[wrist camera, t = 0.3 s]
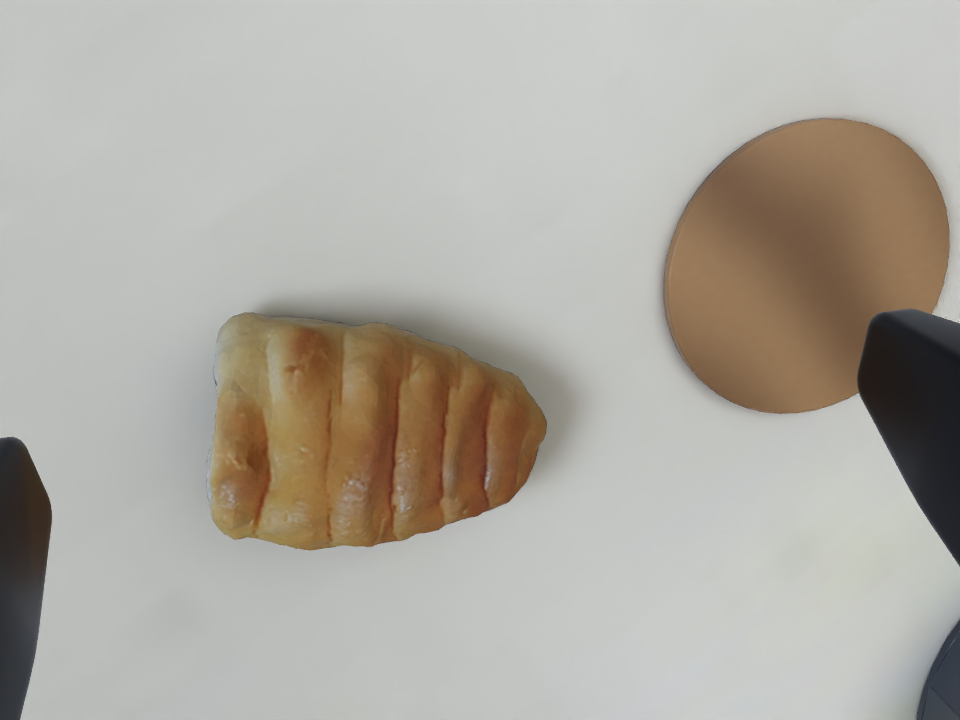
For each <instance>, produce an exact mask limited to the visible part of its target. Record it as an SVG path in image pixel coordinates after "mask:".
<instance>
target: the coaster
mask: <svg viewBox="0 0 960 720" xmlns="http://www.w3.org/2000/svg"><path fill="white" fill-rule="evenodd" d="M949 247H950V246H949V224H948V217H947V211H946V207H945V204H944V200H943V197H942V194H941V191H940V189H939V187H938V185H937V182H936V180H935V178H934V176H933V175H932V173H931V172H930V170H929V169H928V167H927V166H926V164H925V163H924V161H923V160H922V159H921V158H920V157H919V156H918V155H917V154H916V153H915V151H914V150H913V149H912V148H910V147H909V146H908V145H907V144H905V143H904V142H903V141H902V140H900V139H899V138H898V137H896V136H894V135H892V134H890V133H889V132H887V131H885V130H883V129H881V128H878V127H875V126H872V125H869V124H867V123H863V122H857V121H852V120H846V119H832V118H820V119H811V120H802V121H799V122H795V123H791V124H787V125H783V126H781V127H778V128H776V129H773V130H771V131H768V132H766V133H764V134H762V135H760V136H758V137H757V138H755V139H753V140H751V141H749V142H748V143H746V144H745V145H743V146H742V147H740V148H739V149H738V150H736V151H735V152H734V153H732V154H731V155H730V156H728V157H727V158H726V159H725V160H724V161H723V162H722V163H721V164H720V165H719V166H718V167H717V168H716V169H714V170H713V172H712V173H711V174H710V175H709V176H708V177H707V179H706V180H705V181H704V182H703V183H702V185H701V186H700V187H699V188H698V190H697V191H696V193H695V194H694V196H693V197H692V199H691V200H690V202H689V203H688V205H687V207H686V209H685V211H684V213H683V215H682V217H681V219H680V221H679V223H678V225H677V228H676V230H675V233H674V236H673V238H672V241H671V244H670V248H669V253H668V257H667V261H666V268H665V277H664V303H665V310H666V316H667V321H668V325H669V328H670V332H671V335H672V338H673V340H674V342H675V344H676V346H677V349H678V351H679V353H680V354H681V356H682V357H683V359H684V361H685V362H686V364H687V365H688V367H689V368H690V369H691V370H692V371H693V372H694V373H695V375H696V376H697V377H698V378H699V379H700V380H701V381H702V382H703V383H705V384H706V385H707V386H708V387H710V388H711V389H712V390H713V391H714V392H716V393H717V394H719V395H720V396H722V397H724V398H725V399H727V400H729V401H730V402H733V403H735V404H738V405H740V406H743V407H745V408H749V409H753V410H757V411H761V412H769V413H778V414H782V413H800V412H806V411H813V410H817V409H820V408H824V407H827V406H831V405H833V404H836V403H838V402H841V401H843V400H845V399H848V398H850V397H851V396H853V395H855V394H857V393H859V390H858V386H857V372H858V368H859V364H860V359H861V355H862V351H863V346H864V342H865V338H866V333H867V329H868V326H869V323H870V321H871V319H872V318H873V317H874V316H875V315H877V314H878V313H881V312H887V311H894V310H901V309H917V310H920V311H923V312H926V313H929V314H932V312H933V310H934V308H935V306H936V304H937V301H938V299H939V296H940V293H941V290H942V287H943V284H944V279H945V275H946V270H947V266H948V257H949Z"/></svg>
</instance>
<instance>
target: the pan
mask: <svg viewBox="0 0 960 720" xmlns="http://www.w3.org/2000/svg"><path fill="white" fill-rule="evenodd" d="M917 720H960V621H959V622H958V624H957V625H956V627H955V628H954V630H953V631H952V633H951V634H950V636H949V637H948V639H947V640H946V641H945V643H944V645H943V647H942V649H941V651H940V652H939V654H938V656H937V658H936V660H935V662H934V664H933V666H932V668H931V671H930V673H929V676H928V678H927V681H926V683H925V686H924V688H923V692H922V696H921V700H920V704H919V708H918V712H917Z"/></svg>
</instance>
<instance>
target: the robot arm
mask: <svg viewBox="0 0 960 720" xmlns="http://www.w3.org/2000/svg"><path fill="white" fill-rule="evenodd" d="M857 386H858V390H859V394H860V396H861V399H862V400H863V402H864V404H865V406H866V408H867V410H868V412H869V414H870V415H871V417H872V419H873V421H874V423H875V425H876V427H877V429H878V431H879V432H880V434H881V436H882V438H883V440H884V442H885V444H886V446H887V448H888V449H889V451H890V453H891V455H892V457H893V459H894V461H895V463H896V465H897V466H898V468H899V470H900V472H901V474H902V476H903V478H904V480H905V482H906V483H907V485H908V487H909V489H910V491H911V492H912V494H913V496H914V498H915V499H916V501H917V503H918V505H919V506H920V508H921V509H922V511H923V512H924V514H925V516H926V517H927V519H928V520H929V522H930V523H931V525H932V526H933V528H934V529H935V531H936V532H937V534H938V535H939V537H940V538H941V540H942V541H943V543H944V544H945V545H946V547H947V548H948V550H949V551H950V553H951V554H952V556H953V557H954V559H955V560H956V562H957V563H958V565H959V566H960V324H959V323H956V322H953V321H950V320H947V319H944V318H941V317H938V316H935V315H932V314H929V313H926V312H923V311H920V310H917V309H901V310H894V311H887V312H881V313H878V314H877V315H875V316H874V317H873V318H872V319H871V321H870V323H869V326H868V329H867V333H866V338H865V342H864V346H863V351H862V355H861V359H860V364H859V368H858V372H857ZM51 524H52V510H51V504H50V500H49V497H48V494H47V492H46V490H45V488H44V486H43V483H42V481H41V479H40V477H39V474H38V472H37V470H36V468H35V465H34V463H33V461H32V459H31V456H30V454H29V452H28V450H27V448H26V446H25V445H24V444H23V442H22V441H21V440H19V439H17V438H15V437H6V438H0V720H20V717H21V713H22V709H23V705H24V701H25V697H26V693H27V689H28V685H29V681H30V676H31V672H32V667H33V663H34V658H35V653H36V646H37V639H38V633H39V624H40V616H41V608H42V599H43V591H44V582H45V574H46V566H47V557H48V549H49V540H50V532H51Z"/></svg>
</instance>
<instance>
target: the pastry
mask: <svg viewBox="0 0 960 720" xmlns="http://www.w3.org/2000/svg"><path fill="white" fill-rule="evenodd" d="M213 375H214V379H215V383H216V386H217V408H216V415H215V419H216V420H215V431H214V435H213V441H212V445H211V448H210V450H209V454H208V458H207V480H206V484H207V496H208V499H209V501H210V506H211V517H212V520H213V521H214V523H215V524H216V525H217V527H218V528H219V529H220V530H221V531H222V532H223V533H224V534H225V535H228V536H229V537H231V538H232V539H242V538H245V537H250V538H258V539H262V540H266V541H270V542H273V543H276V544H279V545H287V546H290V547H293V548H296V549H298V548H299V549H305V550H316V549H322V548H329V547H336V546H341V545H348V546H365V547H372V546H374V545H377V544H381V543H386V542H392V541H402V540H406V539H408V538H410V537H411V536H413V535H415V534H418V533H427V532H431V531H436V530H439V529H440V528H442V527H443V526H444V525H446V524H450V523H454V522H456V521H459V520H461V519H466V518H469V517H475V516H478V515H480V514H481V513H483V512H485V511H488V510H491V509H494V508H496V507H498V506H500V505H503V504H506V503H508V502H509V501H510V500H511V499H512V498H513V497H514V496H515V494H516V493H517V492H518V491H519V490H520V488H521V487H522V486H523V485H524V484H525V483H526V481H527V479H528V477H529V475H530V472H531V470H532V468H533V465H534V463H535V460H536V456H537V452H538V448H539V445H540V444H541V443H542V441H543V439H544V437H545V435H546V428H547V423H546V418H545V416H544V414H543V412H542V410H541V409H540V407H539V406H538V404H537V403H536V402H535V400H534V399H533V398H532V396H531V395H530V394H529V393H528V391H527V389H526V387H525V386H524V385H523V383H522V382H521V380H520V379H519V378H518V377H517V376H516V375H514V374H512V373H510V372H507V371H504V370H500V369H497V368H494V367H492V366H491V365H489V364H487V363H484V362H480V361H476V360H475V359H473V358H472V357H470V356H468V355H467V354H466V353H464V352H463V351H461V350H460V349H458V348H456V347H453V346H447V345H444V344H440V343H436V342H432V341H428V340H425V339H423V338H421V337H419V336H417V335H416V334H414V333H412V332H410V331H408V330H400V329H398V328H397V327H395V326H392V325H388V324H383V323H368V324H364V325H360V326H350V325H347V324H344V323H339V322H337V323H333V322H329V321H320V320H316V319H312V318H295V317H289V316H276V317H267V316H264V315H261V314H257V313H242V314H239V315H236V316H233V317H231V318H230V319H229V320H228V321H227V322H226V323H225V324H224V325H223V326H222V327H221V329H220V331H219V334H218V338H217V347H216V352H215V360H214V367H213Z"/></svg>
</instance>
